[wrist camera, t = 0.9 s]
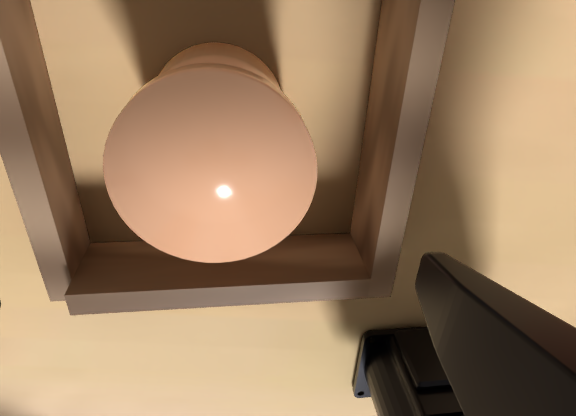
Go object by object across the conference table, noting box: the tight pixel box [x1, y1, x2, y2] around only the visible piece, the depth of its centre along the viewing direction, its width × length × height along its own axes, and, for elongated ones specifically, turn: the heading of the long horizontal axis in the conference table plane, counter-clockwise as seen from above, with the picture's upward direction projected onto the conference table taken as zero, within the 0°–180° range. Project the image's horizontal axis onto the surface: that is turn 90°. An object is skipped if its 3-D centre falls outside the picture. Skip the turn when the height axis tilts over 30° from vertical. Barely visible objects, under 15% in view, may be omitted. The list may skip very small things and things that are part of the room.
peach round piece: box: [103, 42, 317, 263], centre depth 16 cm, size 7×7×7 cm
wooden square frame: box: [0, 0, 455, 315], centre depth 17 cm, size 16×16×4 cm
